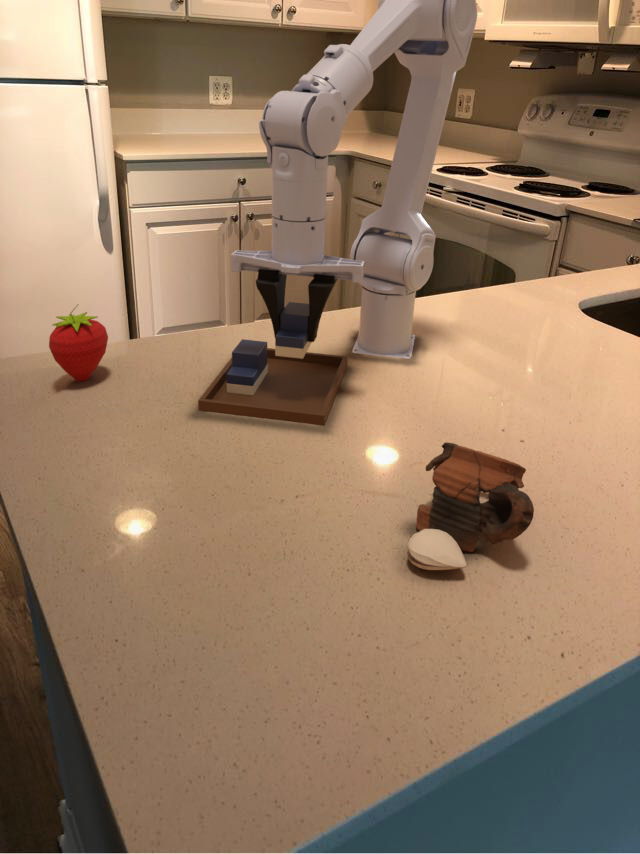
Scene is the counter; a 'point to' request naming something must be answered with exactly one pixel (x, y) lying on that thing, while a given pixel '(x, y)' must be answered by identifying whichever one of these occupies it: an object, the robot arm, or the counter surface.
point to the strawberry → (78, 344)
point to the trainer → (293, 331)
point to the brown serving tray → (283, 389)
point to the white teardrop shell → (435, 551)
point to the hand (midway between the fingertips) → (295, 337)
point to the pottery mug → (476, 497)
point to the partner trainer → (247, 367)
